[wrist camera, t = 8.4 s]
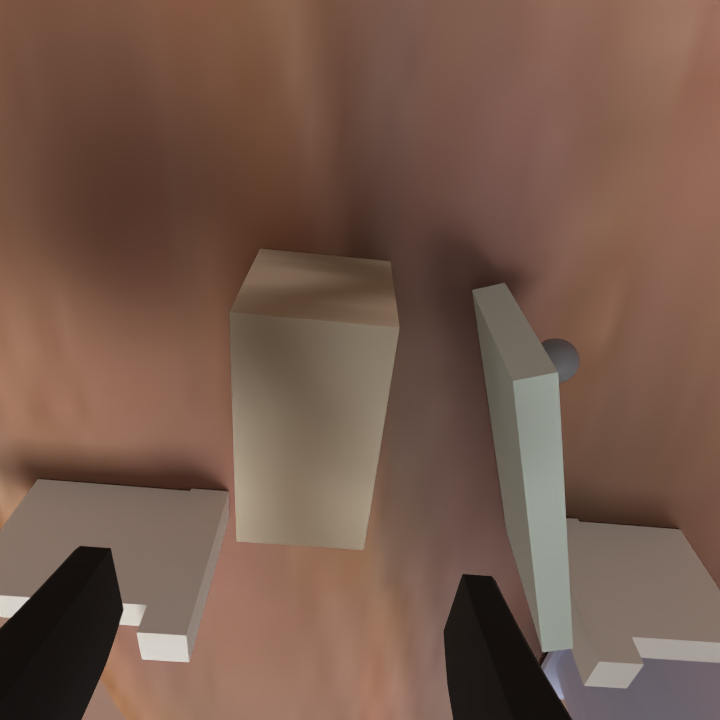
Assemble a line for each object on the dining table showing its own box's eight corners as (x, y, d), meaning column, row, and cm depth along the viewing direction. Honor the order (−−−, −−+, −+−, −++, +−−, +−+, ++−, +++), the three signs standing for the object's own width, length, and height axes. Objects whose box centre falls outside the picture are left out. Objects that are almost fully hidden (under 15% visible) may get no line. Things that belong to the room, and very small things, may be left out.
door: (560, 523, 21) (610, 643, 17) (506, 531, 22) (542, 652, 17) (544, 273, 16) (614, 361, 11) (471, 289, 16) (512, 380, 12)
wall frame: (681, 526, 22) (777, 672, 17) (666, 550, 23) (754, 695, 18) (37, 476, 21) (-70, 619, 16) (44, 502, 21) (-54, 647, 16)
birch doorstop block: (390, 259, 16) (399, 327, 12) (363, 454, 20) (363, 550, 16) (261, 246, 16) (229, 312, 12) (260, 445, 20) (236, 541, 16)
